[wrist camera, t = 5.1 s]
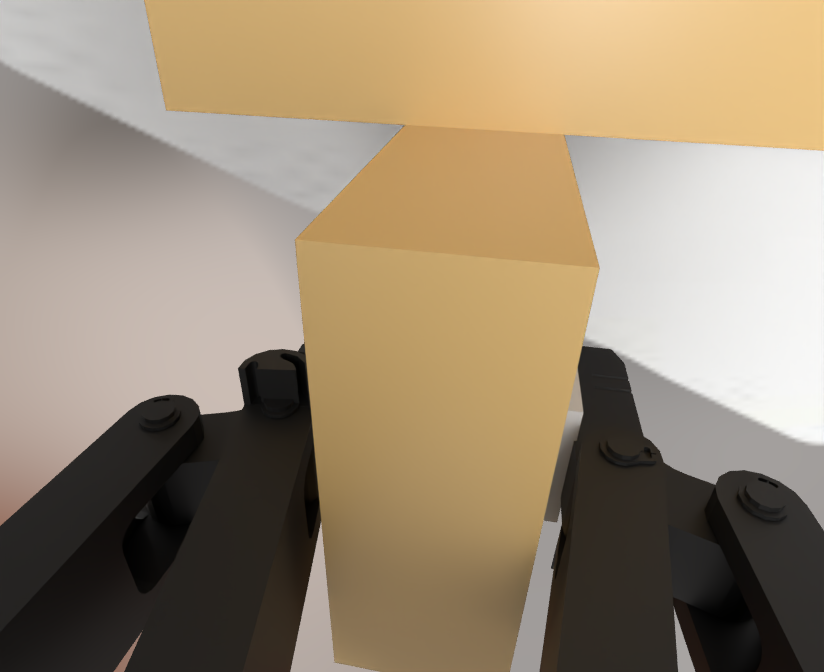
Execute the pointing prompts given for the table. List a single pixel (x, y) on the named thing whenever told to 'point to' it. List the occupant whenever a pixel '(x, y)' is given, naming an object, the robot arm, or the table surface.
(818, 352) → the table surface
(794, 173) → the table surface
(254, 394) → the robot arm
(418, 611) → the amber lid
